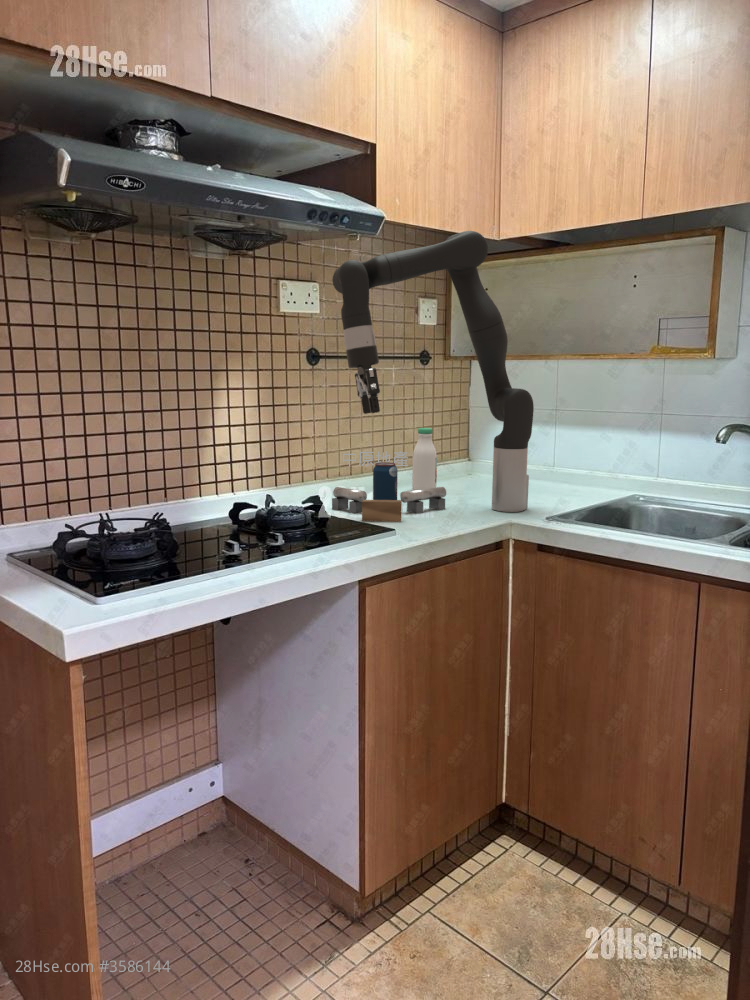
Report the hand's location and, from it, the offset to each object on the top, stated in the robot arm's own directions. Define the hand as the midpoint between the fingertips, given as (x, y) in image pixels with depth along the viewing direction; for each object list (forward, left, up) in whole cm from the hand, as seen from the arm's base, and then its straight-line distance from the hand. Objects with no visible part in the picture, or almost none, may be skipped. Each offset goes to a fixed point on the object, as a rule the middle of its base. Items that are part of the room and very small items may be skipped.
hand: (371, 413), depth 176 cm
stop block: (-4, -1, -28) cm, 28 cm away
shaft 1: (-4, -16, -28) cm, 32 cm away
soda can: (-17, -17, -28) cm, 37 cm away
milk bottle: (-43, -30, -28) cm, 59 cm away
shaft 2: (-21, -4, -28) cm, 35 cm away
